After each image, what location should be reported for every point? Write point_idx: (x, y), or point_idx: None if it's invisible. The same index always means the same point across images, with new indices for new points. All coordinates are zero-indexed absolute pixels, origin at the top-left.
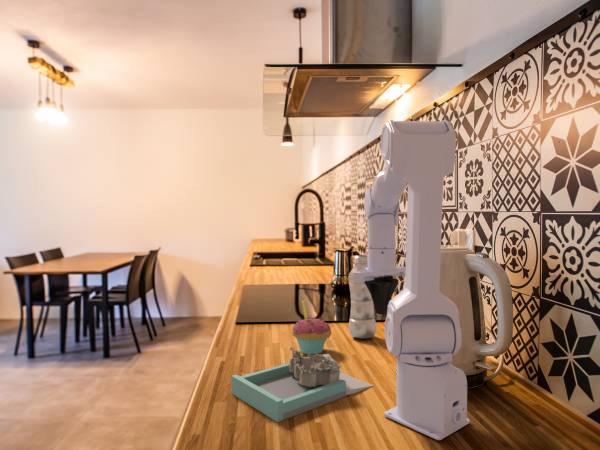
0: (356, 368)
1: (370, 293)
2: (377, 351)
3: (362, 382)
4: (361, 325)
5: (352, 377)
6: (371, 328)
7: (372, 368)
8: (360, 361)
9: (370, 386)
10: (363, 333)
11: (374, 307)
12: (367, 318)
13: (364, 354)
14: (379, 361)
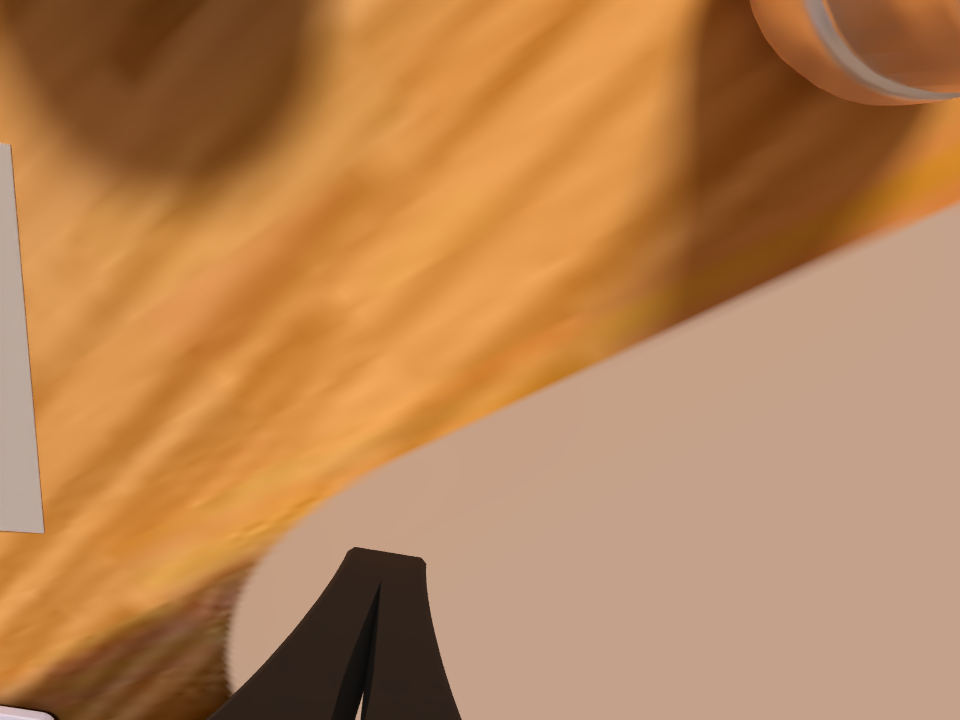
0: (156, 343)
1: (214, 717)
2: (554, 275)
3: (12, 481)
4: (788, 10)
5: (22, 405)
6: (846, 97)
7: (234, 414)
8: (280, 294)
9: (12, 529)
10: (767, 31)
11: (332, 581)
12: (879, 64)
13: (427, 236)
14: (372, 387)
